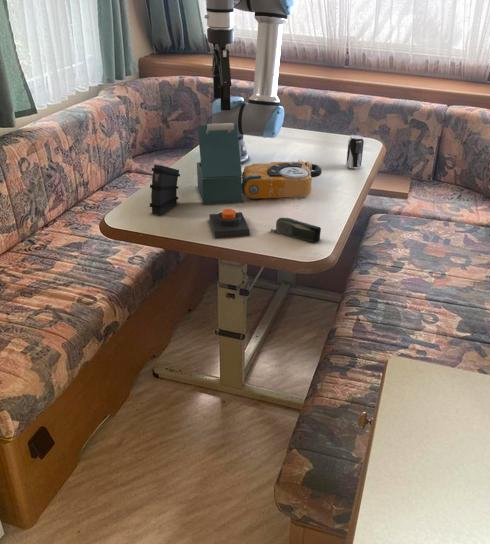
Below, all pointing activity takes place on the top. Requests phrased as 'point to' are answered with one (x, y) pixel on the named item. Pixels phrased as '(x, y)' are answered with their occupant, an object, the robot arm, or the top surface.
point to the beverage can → (355, 151)
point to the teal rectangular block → (219, 188)
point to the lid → (219, 150)
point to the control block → (228, 226)
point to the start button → (228, 214)
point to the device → (278, 179)
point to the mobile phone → (298, 229)
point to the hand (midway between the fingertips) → (221, 104)
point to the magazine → (163, 189)
